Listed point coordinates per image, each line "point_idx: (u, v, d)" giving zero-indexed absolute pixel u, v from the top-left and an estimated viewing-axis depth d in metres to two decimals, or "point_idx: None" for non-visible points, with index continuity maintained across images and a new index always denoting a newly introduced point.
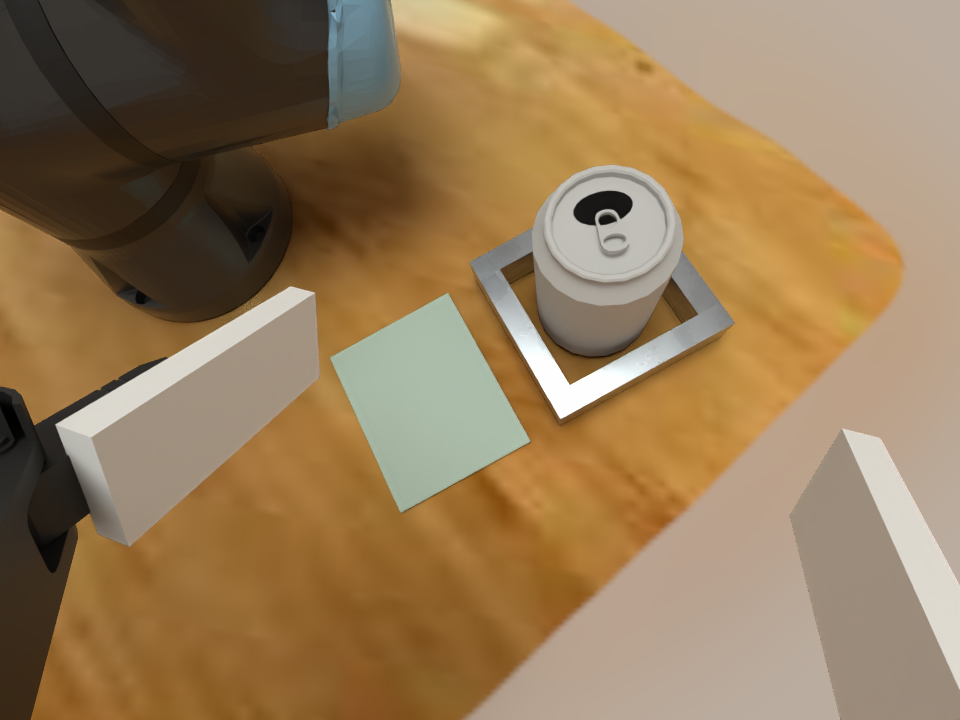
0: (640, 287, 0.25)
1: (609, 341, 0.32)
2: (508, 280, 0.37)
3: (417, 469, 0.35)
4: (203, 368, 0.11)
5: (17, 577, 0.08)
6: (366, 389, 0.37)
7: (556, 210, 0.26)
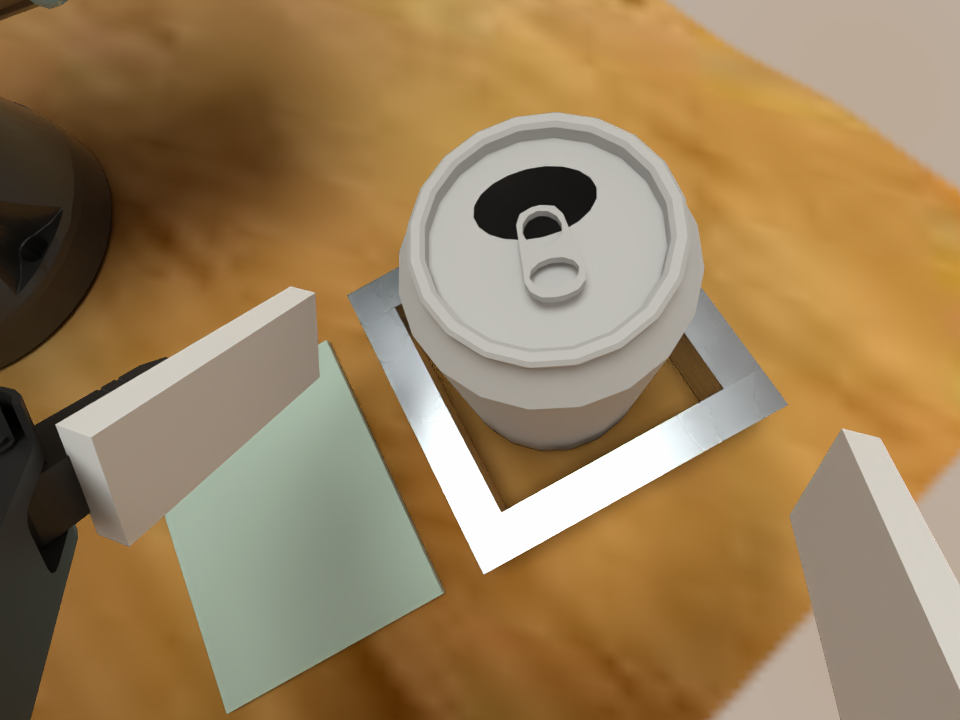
0: (612, 373, 0.12)
1: (568, 439, 0.18)
2: None
3: (259, 637, 0.21)
4: (203, 368, 0.11)
5: (17, 577, 0.08)
6: (191, 495, 0.23)
7: (438, 208, 0.13)
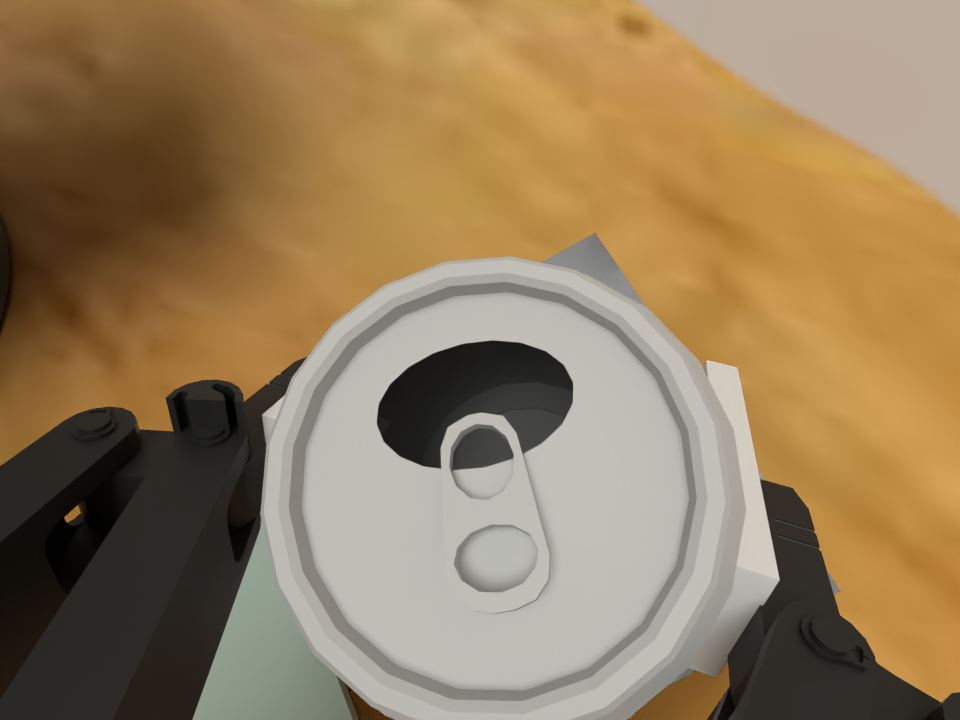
0: None
1: None
2: None
3: None
4: None
5: (211, 567, 0.08)
6: None
7: (324, 403, 0.08)
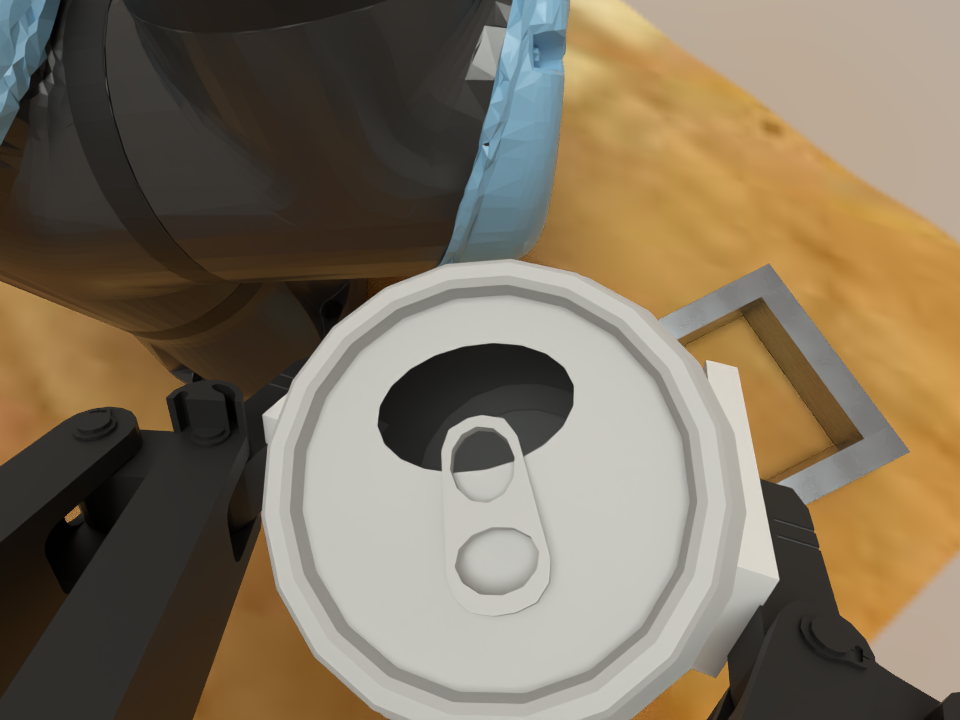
0: None
1: None
2: None
3: None
4: None
5: (211, 567, 0.08)
6: None
7: (324, 406, 0.08)
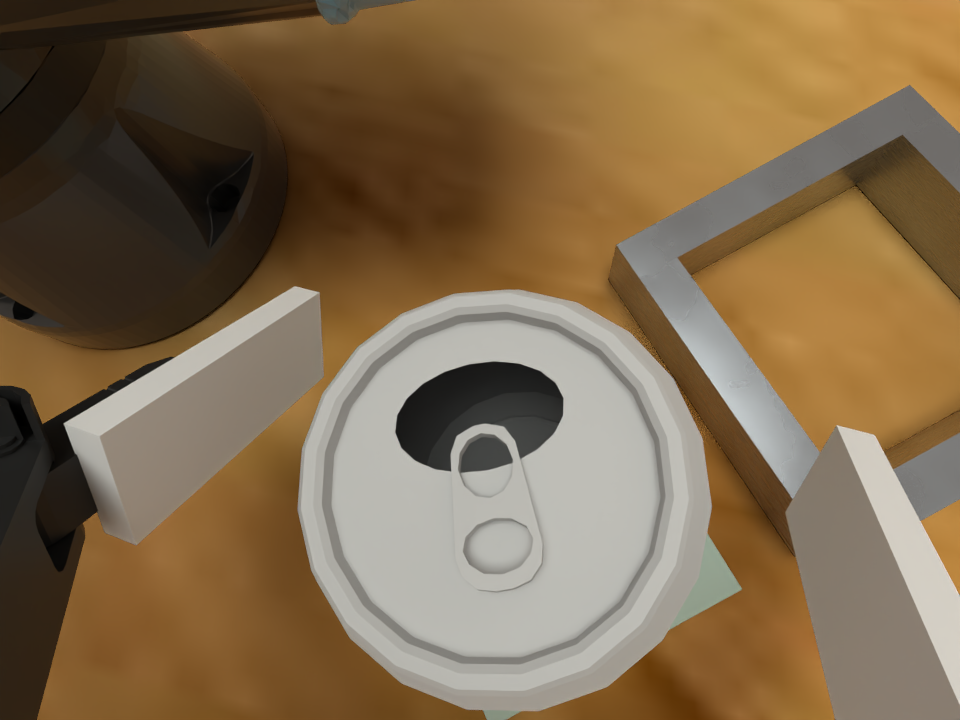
0: None
1: None
2: None
3: None
4: (209, 367, 0.11)
5: (25, 576, 0.08)
6: None
7: (350, 415, 0.09)
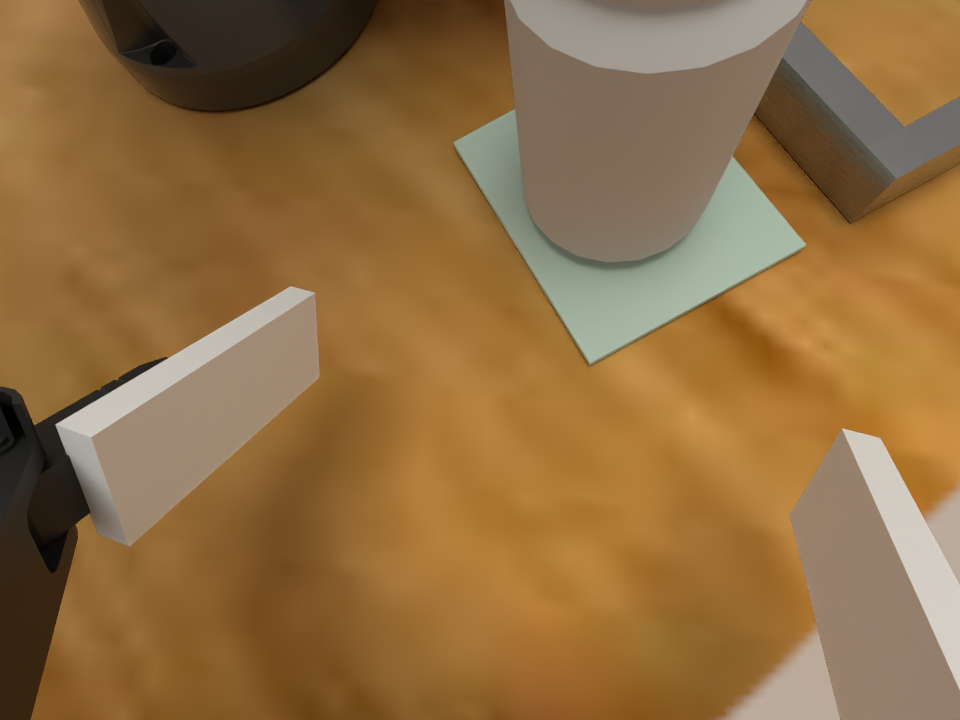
0: (741, 22, 0.11)
1: (648, 216, 0.17)
2: None
3: (613, 296, 0.21)
4: (203, 368, 0.11)
5: (17, 577, 0.08)
6: (515, 183, 0.23)
7: None
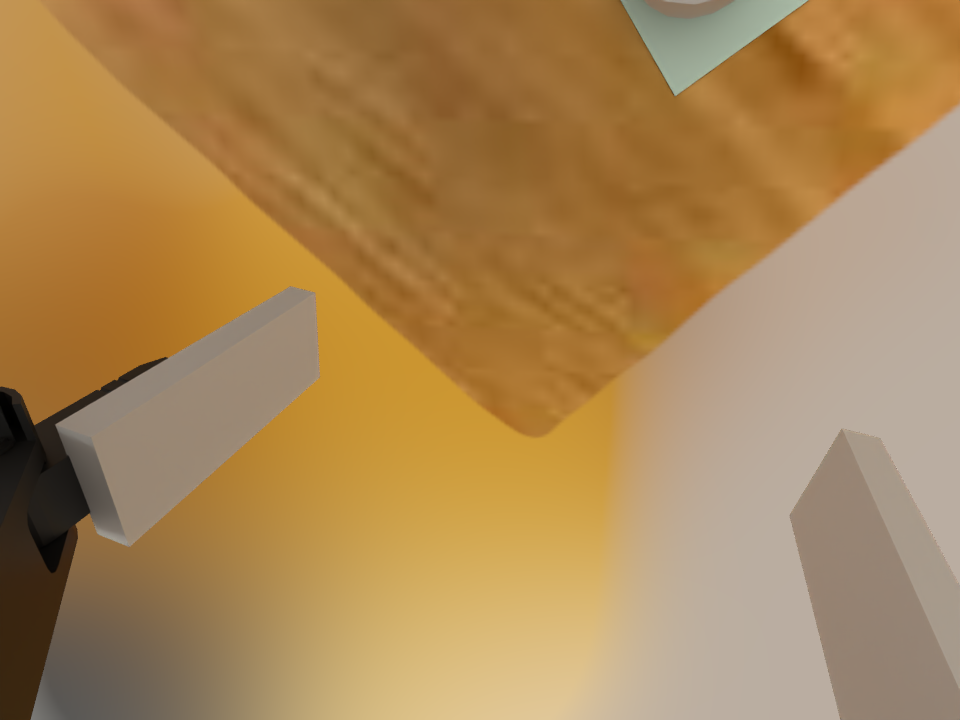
0: None
1: (713, 9, 0.26)
2: None
3: (694, 40, 0.30)
4: (203, 368, 0.11)
5: (17, 577, 0.08)
6: None
7: None
